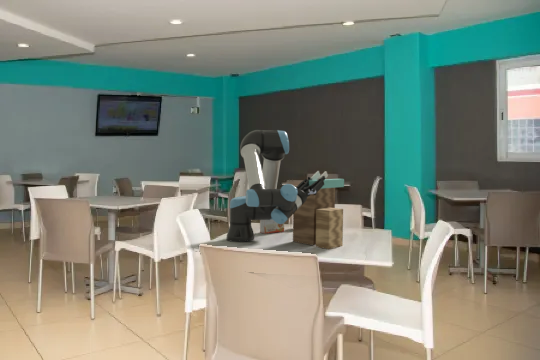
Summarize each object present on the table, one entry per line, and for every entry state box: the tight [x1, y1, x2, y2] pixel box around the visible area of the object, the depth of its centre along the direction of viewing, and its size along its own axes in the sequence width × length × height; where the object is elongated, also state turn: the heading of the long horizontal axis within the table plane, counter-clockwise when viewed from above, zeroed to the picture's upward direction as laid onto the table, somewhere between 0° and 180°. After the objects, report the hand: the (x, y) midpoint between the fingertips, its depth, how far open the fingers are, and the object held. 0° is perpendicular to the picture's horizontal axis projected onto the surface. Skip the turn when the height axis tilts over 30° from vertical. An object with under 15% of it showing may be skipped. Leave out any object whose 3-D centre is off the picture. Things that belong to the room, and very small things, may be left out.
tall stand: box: [292, 184, 336, 246], centre depth 259 cm, size 18×14×30 cm
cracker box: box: [259, 219, 285, 235], centre depth 287 cm, size 14×6×21 cm, turn 123°
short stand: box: [315, 207, 344, 250], centre depth 246 cm, size 12×8×19 cm, turn 136°
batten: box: [309, 178, 345, 189], centre depth 243 cm, size 24×4×4 cm, turn 137°
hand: (322, 173), depth 240 cm, fingers closed on batten, 4 cm apart
